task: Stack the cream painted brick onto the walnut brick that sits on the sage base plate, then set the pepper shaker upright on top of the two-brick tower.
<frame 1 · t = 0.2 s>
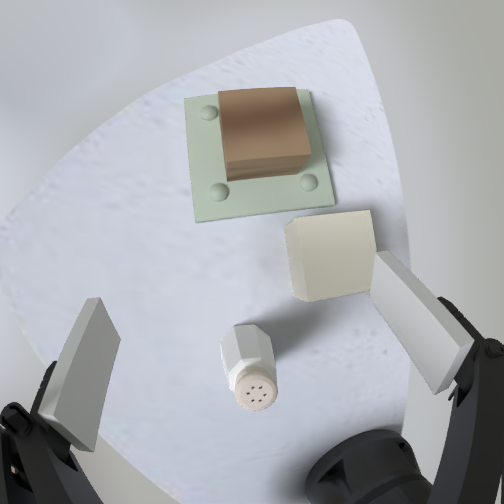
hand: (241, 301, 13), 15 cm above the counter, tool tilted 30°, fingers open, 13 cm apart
brick a: (257, 145, 28), point 1 cm above the counter, touching base plate
pepper shaker: (245, 348, 28), on the counter
base plate: (256, 149, 29), on the counter
brick b: (321, 256, 29), on the counter
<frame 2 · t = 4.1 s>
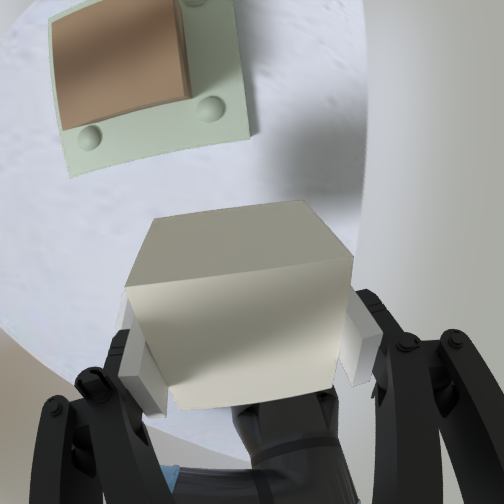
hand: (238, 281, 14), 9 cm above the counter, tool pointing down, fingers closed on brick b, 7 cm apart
brick a: (136, 63, 15), point 1 cm above the counter, touching base plate
pepper shaker: (149, 300, 26), on the counter
base plate: (140, 65, 16), on the counter
brick b: (236, 273, 15), point 9 cm above the counter, touching gripper
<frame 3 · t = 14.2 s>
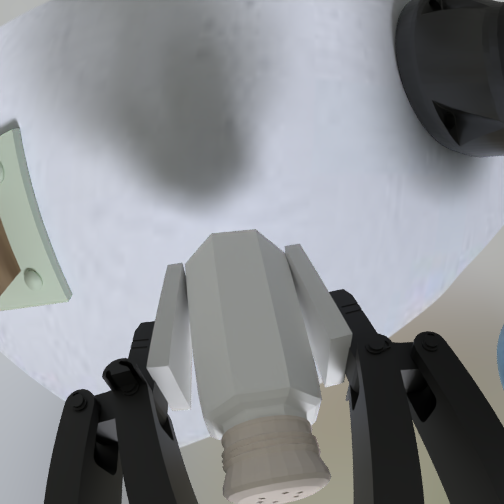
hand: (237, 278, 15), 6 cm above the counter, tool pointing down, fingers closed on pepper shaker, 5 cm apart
pepper shaker: (236, 272, 15), point 6 cm above the counter, touching gripper
when the fingers open (13 cm above the counter, at t = 19.2 s): pepper shaker stays where it is, resting on brick b.
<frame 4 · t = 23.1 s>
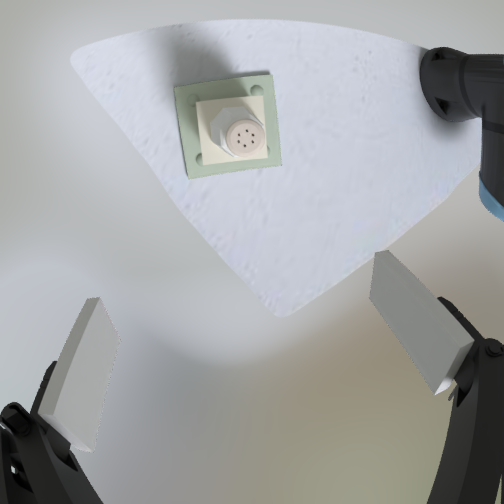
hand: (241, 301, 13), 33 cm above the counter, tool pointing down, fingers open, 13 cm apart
pepper shaker: (234, 129, 29), point 12 cm above the counter, touching brick b
base plate: (229, 125, 39), on the counter
brick b: (229, 127, 33), point 6 cm above the counter, touching brick a, pepper shaker
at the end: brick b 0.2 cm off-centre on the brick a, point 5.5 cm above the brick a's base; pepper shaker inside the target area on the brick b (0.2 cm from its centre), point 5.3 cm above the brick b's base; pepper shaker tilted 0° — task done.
